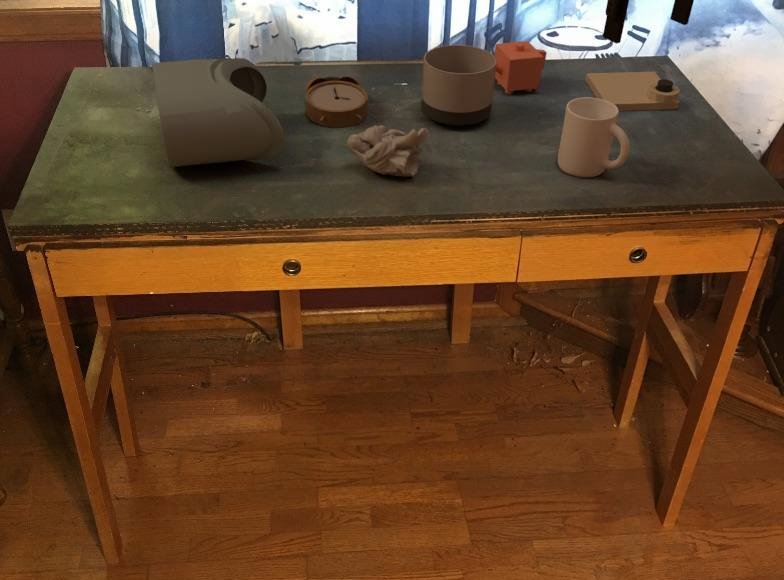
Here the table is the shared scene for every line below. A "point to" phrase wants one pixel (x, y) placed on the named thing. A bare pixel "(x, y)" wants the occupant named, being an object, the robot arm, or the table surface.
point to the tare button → (664, 85)
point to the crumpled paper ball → (388, 150)
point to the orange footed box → (518, 66)
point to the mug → (590, 137)
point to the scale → (632, 90)
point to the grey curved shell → (215, 112)
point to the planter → (458, 84)
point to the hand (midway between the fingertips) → (645, 30)
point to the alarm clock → (336, 101)
